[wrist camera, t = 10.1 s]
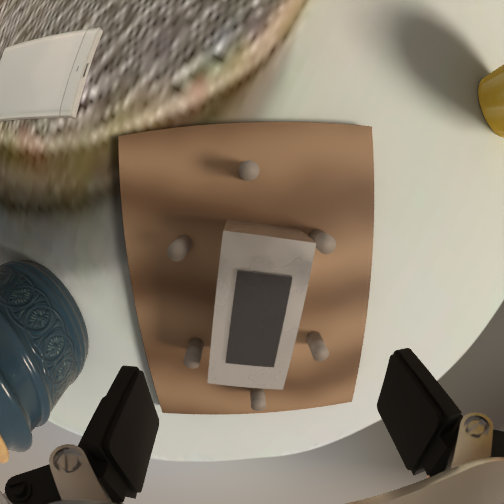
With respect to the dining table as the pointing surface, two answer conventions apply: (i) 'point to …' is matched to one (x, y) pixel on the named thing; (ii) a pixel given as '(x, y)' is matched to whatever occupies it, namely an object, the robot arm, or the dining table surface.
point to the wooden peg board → (210, 240)
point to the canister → (35, 350)
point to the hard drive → (46, 75)
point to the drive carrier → (258, 303)
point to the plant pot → (493, 100)
